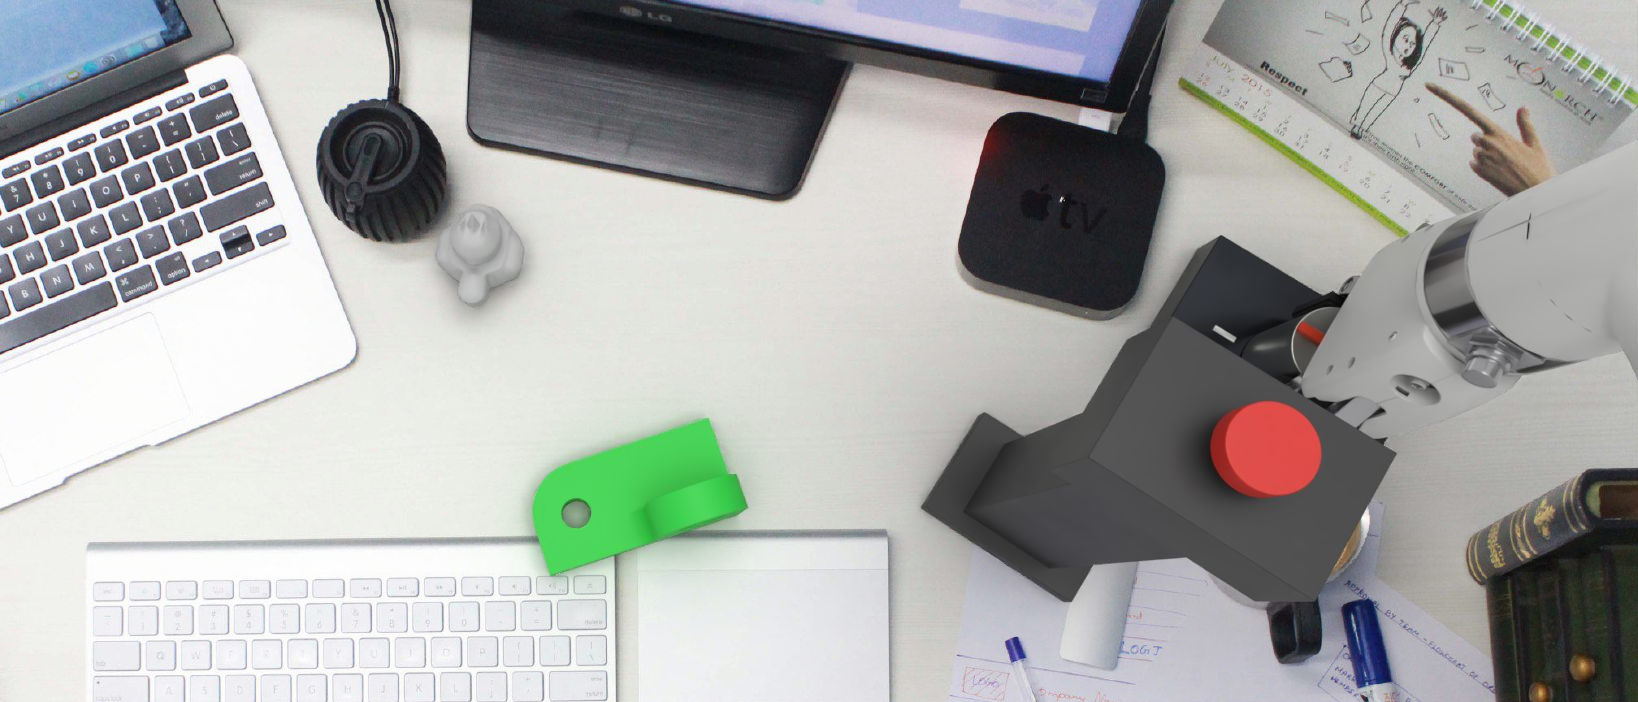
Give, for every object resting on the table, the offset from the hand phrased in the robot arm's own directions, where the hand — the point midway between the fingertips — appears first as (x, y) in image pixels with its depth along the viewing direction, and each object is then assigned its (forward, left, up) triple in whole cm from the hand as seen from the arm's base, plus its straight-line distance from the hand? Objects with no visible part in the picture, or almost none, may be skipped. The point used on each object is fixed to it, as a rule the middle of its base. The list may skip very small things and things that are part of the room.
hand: (1293, 365), depth 70 cm
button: (+8, +15, +22) cm, 28 cm away
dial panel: (0, 0, -4) cm, 4 cm away
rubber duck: (+44, +21, -4) cm, 49 cm away
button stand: (+8, +15, -4) cm, 18 cm away
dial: (0, 0, -1) cm, 1 cm away
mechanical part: (+28, +28, -4) cm, 40 cm away
